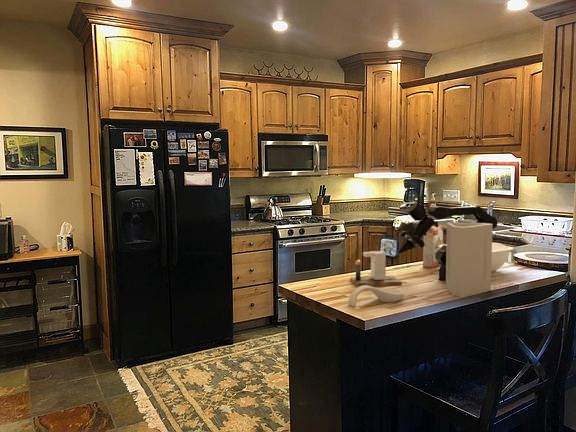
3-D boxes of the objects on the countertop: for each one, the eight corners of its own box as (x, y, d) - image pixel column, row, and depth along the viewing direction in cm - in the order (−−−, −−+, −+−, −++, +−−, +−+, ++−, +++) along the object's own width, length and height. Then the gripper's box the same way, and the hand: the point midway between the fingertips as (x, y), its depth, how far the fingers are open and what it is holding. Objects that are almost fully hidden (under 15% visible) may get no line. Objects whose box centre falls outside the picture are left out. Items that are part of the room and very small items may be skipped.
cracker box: (433, 268, 240) (434, 228, 238) (422, 267, 244) (422, 227, 242) (442, 263, 251) (443, 225, 250) (432, 262, 255) (432, 224, 253)
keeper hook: (360, 279, 212) (360, 259, 211) (361, 280, 210) (361, 260, 209) (354, 279, 212) (354, 259, 211) (356, 280, 209) (355, 260, 208)
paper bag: (462, 283, 208) (463, 221, 205) (491, 290, 195) (493, 224, 193) (432, 289, 198) (433, 224, 195) (461, 297, 185) (463, 227, 183)
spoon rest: (391, 295, 191) (391, 278, 190) (411, 302, 180) (411, 284, 180) (343, 303, 181) (342, 285, 180) (360, 311, 170) (360, 291, 169)
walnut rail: (392, 278, 219) (392, 275, 218) (401, 284, 207) (401, 280, 207) (350, 280, 217) (350, 276, 216) (356, 286, 205) (356, 282, 204)
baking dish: (475, 280, 213) (476, 253, 212) (428, 269, 237) (429, 245, 236) (522, 271, 229) (523, 246, 228) (474, 262, 254) (474, 239, 253)
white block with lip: (381, 276, 215) (381, 250, 214) (385, 279, 209) (385, 253, 208) (362, 277, 214) (362, 251, 213) (365, 280, 208) (365, 253, 207)
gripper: (403, 214, 220) (380, 237, 220) (418, 217, 201) (393, 243, 201) (418, 230, 221) (396, 253, 221) (435, 235, 203) (410, 261, 203)
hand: (398, 252), depth 211 cm, fingers closed
